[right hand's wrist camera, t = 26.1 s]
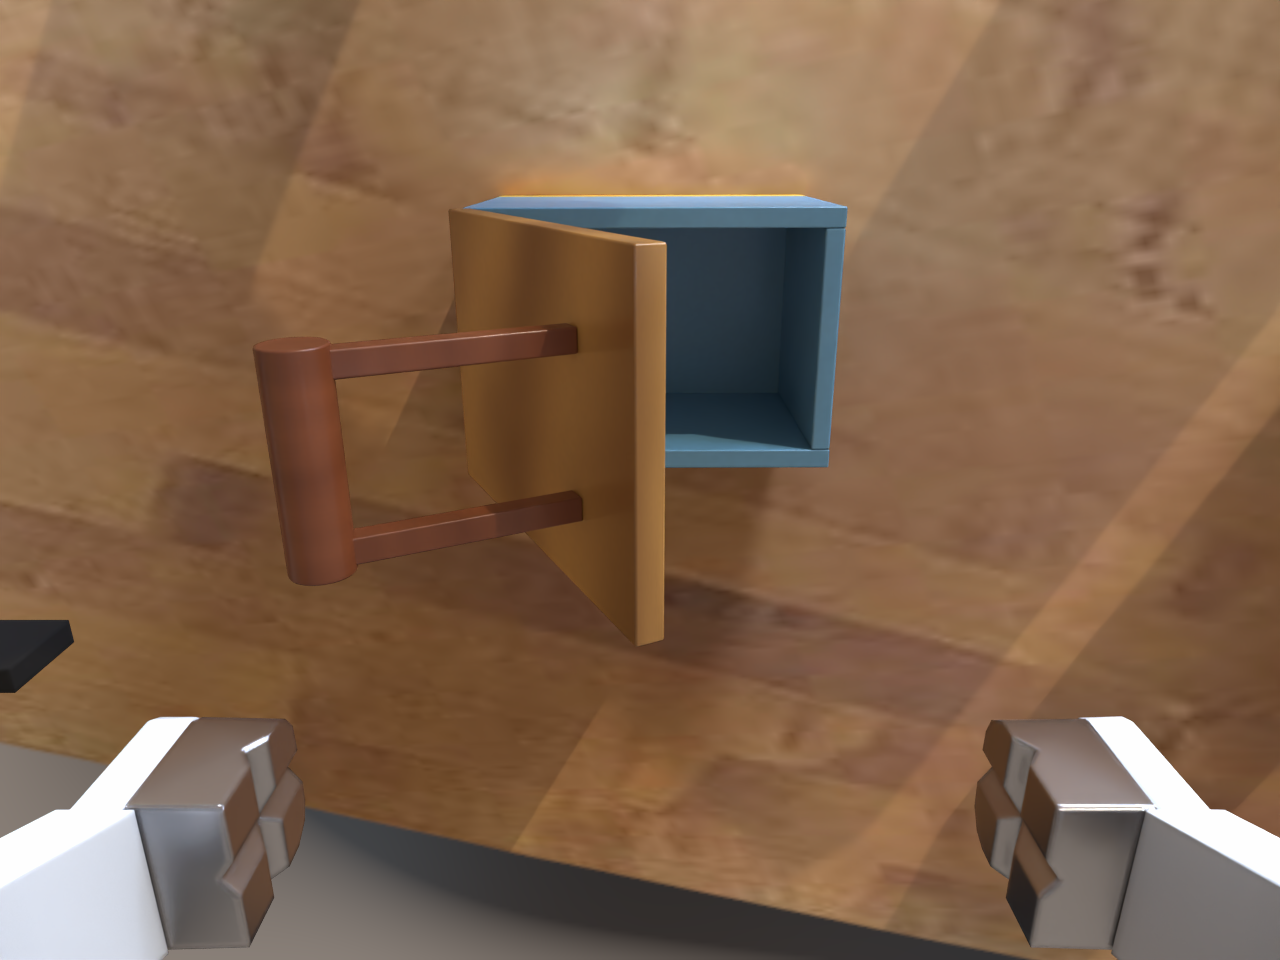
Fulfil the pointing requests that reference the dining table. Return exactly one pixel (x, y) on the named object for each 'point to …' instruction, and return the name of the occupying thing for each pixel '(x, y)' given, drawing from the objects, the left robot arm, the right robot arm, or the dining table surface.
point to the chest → (733, 316)
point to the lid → (506, 415)
